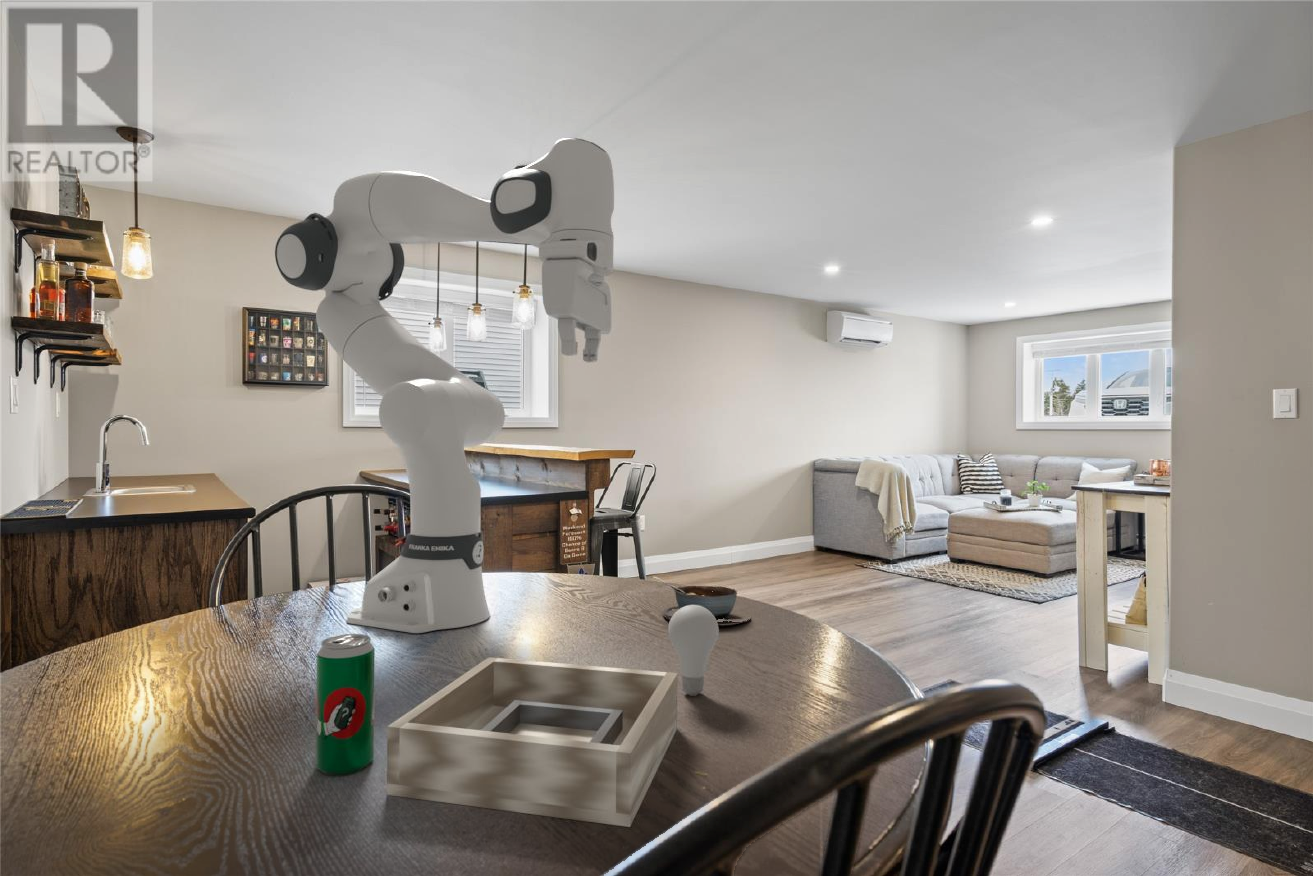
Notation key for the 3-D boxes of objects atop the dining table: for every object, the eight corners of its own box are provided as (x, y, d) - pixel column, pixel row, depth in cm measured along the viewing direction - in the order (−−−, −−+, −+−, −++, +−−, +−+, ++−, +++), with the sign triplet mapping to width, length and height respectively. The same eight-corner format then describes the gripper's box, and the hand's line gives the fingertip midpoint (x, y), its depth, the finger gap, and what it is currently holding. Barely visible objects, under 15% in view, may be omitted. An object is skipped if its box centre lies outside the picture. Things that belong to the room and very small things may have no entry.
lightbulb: (665, 687, 91) (666, 599, 91) (713, 686, 91) (714, 599, 91) (670, 706, 85) (671, 612, 85) (722, 704, 85) (722, 611, 85)
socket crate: (386, 794, 64) (387, 726, 63) (488, 709, 83) (488, 657, 83) (630, 827, 59) (630, 753, 59) (677, 728, 78) (677, 673, 78)
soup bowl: (726, 640, 113) (726, 592, 113) (639, 624, 121) (640, 580, 121) (764, 619, 125) (764, 576, 125) (683, 606, 134) (684, 566, 134)
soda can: (385, 762, 70) (385, 637, 70) (337, 783, 65) (338, 651, 65) (352, 749, 72) (353, 629, 72) (304, 769, 68) (305, 641, 68)
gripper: (582, 275, 112) (581, 365, 112) (533, 241, 92) (532, 350, 92) (622, 274, 110) (620, 365, 111) (581, 239, 90) (579, 350, 91)
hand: (580, 358), depth 101 cm, fingers open, 8 cm apart
